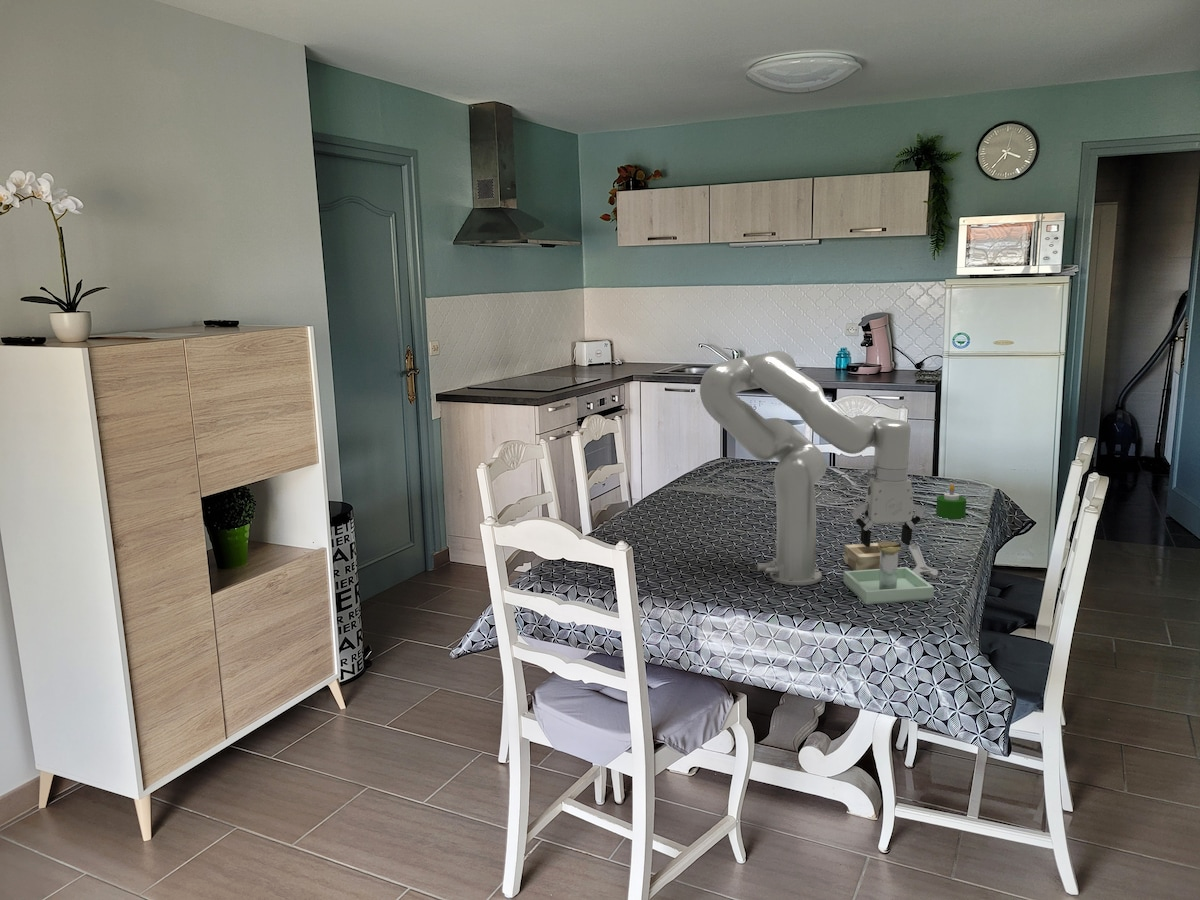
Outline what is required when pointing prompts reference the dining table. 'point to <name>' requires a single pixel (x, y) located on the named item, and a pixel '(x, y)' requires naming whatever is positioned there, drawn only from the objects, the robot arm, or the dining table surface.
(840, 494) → the dining table surface
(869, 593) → the tray
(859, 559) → the block
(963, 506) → the candle
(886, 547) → the gold-capped cylinder
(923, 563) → the adjustable wrench
